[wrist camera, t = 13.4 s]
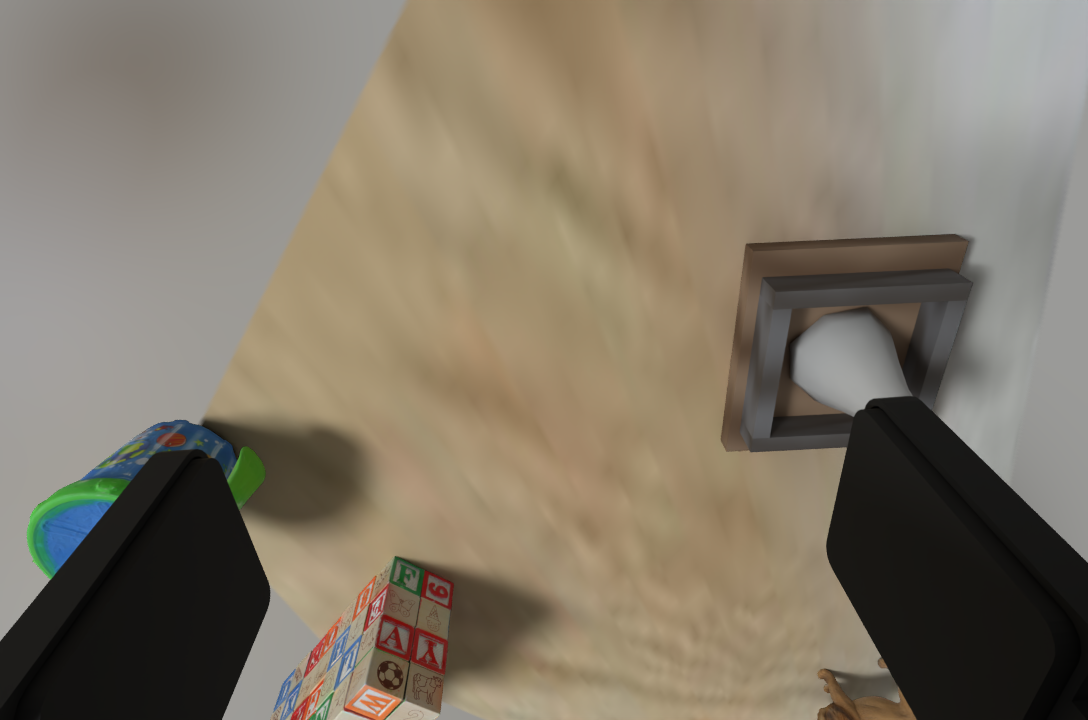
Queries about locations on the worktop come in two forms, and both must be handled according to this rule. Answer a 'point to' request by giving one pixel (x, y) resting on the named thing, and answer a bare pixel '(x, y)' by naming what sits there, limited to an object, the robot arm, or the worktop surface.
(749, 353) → the board
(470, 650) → the worktop surface
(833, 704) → the lion figurine
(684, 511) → the worktop surface
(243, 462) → the snack cup
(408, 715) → the stack of blocks
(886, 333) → the flask
